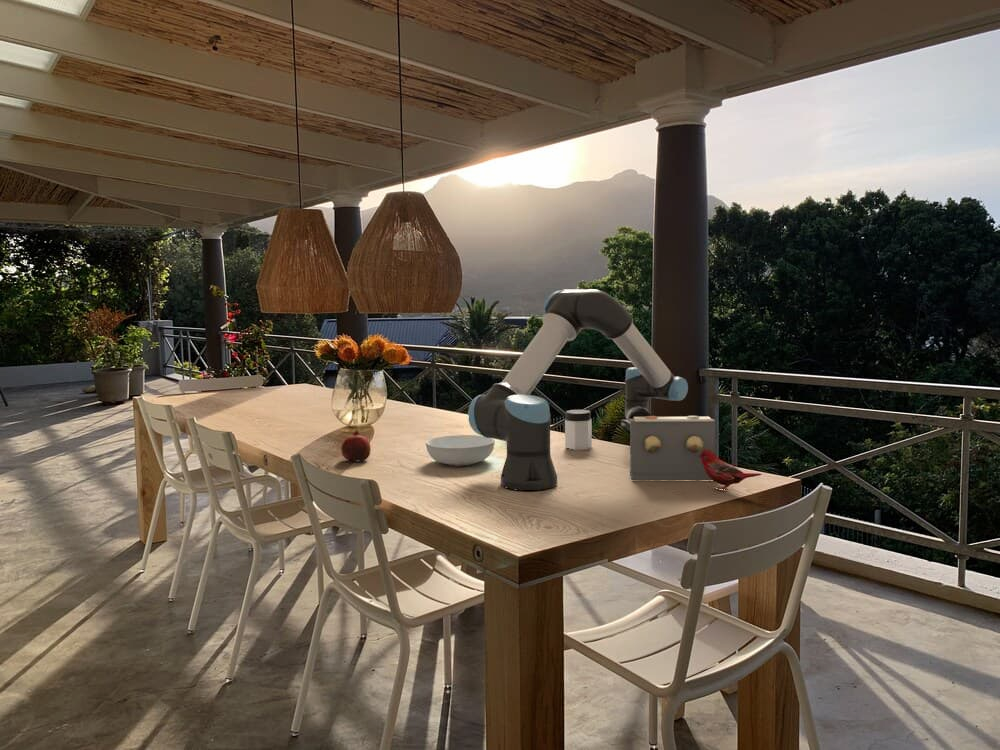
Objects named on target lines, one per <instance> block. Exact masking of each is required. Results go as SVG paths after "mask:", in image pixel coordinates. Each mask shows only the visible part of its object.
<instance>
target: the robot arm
mask: <svg viewBox="0 0 1000 750" xmlns="http://www.w3.org/2000/svg"><path fill="white" fill-rule="evenodd" d="M542 315H543V316H542V323H543V324H542V326H541V328H539V330H538V331H537V333H536V334H535V336H534V337H533V339H532V340H530V343H528V345H527V347H526V348H525V349H524V351H523V352H522V353H521V355H520V356H519V358H518V359H517V361H516V362H515V363H514V364H513V366H512V368H511V369H510V370H509V372H508V373H507V374H506V376H505V377H504V379H502V381H501V382H499V383H497V382H496V383H494V384H493V385H492V386H491V387H490V389H489V390H488V391H487V393H486V394H479V395H477V396H475V397H474V398H473V399H472V400H471V402H470V404H469V406H468V411H467V415H468V422H469V426H470V428H471V429H472V431H473V432H474V433H476V434H477V435H478V436H484V437H486V438H492V439H494V440H498V441H502V442H503V441H504V442H506V458H505V460H504V464H503V468H502V470H501V474H500V485H501V486H502V485H503V486H504V487H503V486H502V487H503V488H505V487H507V488H510V489H509V490H511V489H516V490H515V491H518V490H538V491H541V490H540V489H545V490H548V489H547V488H549V489H552V488H555V487H556V486H557V485H558V474H557V472H556V469H555V466H554V462H553V460H552V457H551V411H550V405H549V402H548V401H547V400H546V399H545V398H543V397H541V396H537V395H531V394H532V392H533V391H534V389H535V388H536V386H537V384H539V382H540V381H541V379H542V378H543V376H544V375H545V373H546V372H547V370H548V369H549V367H551V365H552V364H553V362H554V360H555V359H556V357H557V356H558V354H559V353H560V352H561V350H562V349H563V348H564V346H565V344H566V343H567V342H572V341H574V340H575V339H576V338H577V336H578V335H579V333H580V332H581V331H582V330H594V331H595V330H596V331H598V332H600V333H602V335H603V336H604V337H605V338H606V339H608V340H612V341H613V342H614V343H615V345H616V346H617V347H618V348H619V349H620V351H622V353H623V354H624V355H625V357H626V358H627V359H628V361H630V362H631V364H632V365H633V367H632V366H631V367H628V368H626V370H625V380H624V382H625V402H624V403H625V409H624V417H625V419H624V418H623V419H621V424H620V425H621V429H625V430H627V431H628V432H630V419H634V417H646V416H652V414H651V412H649V399H659V400H666V401H682V400H684V399H685V398H686V396H687V394H688V390H689V385H688V384H689V383H688V382H687V380H686V379H685V378H683V377H681V376H678V375H677V376H674V374H673V372H671V370H670V369H669V368H668V367H667V365H666V364H665V363H664V362H663V360H662V359H661V357H660V356H659V355H658V354H657V353H656V351H655V349H654V348H653V347H652V346H651V345H650V344H649V342H648V341H647V340H646V339H645V338H644V336H643V335H642V333H641V332H640V331H639V329H638V328H637V327H636V326H635V324H634V323H633V322H634V319H633V316H632V315H631V314H630V312H629V311H628V310H627V309H626V307H624V305H623V304H621V303H620V302H619V301H618V300H617V299H616V298H614V297H613V296H612V295H610V294H609V293H607V292H605V291H603V290H599V289H595V288H594V289H593V288H589V289H566V288H565V289H561V290H556V291H555V292H554V291H553V292H552V293H551V294H549V296H548V297H547V299H545V302H544V305H543V310H542ZM556 484H557V485H556ZM555 485H556V486H555ZM551 487H552V488H551ZM507 488H506V489H507Z"/></svg>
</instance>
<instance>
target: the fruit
mask: <svg viewBox="0 0 1000 750" xmlns="http://www.w3.org/2000/svg"><path fill="white" fill-rule="evenodd" d="M340 449H341V455H342V456H343V458H344V459H345V460H348V461H352V462H355V461H360V462H363V461H365V460H367V459H368V458H369V457H370V455H371V443H370V441H369V439H368V438H367V437H365V436H363V435H360V432H359V431H358V429H357V428H356V429H355V430H353V433H352V434H351V435H349V436H347V437H346V438H345V439H344V440H343V442H342V444H341V447H340Z"/></svg>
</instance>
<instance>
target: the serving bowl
mask: <svg viewBox="0 0 1000 750" xmlns="http://www.w3.org/2000/svg"><path fill="white" fill-rule="evenodd" d="M495 440H496V439H493V438H486V437H484V436H482V435H478V434H477V435H475V434H455V435H442V436H436V437H433V438H430V439H428V440H426V441H425V447H426V451H427V453H428V455H429V456H430V458H432V459H433V460H434V461H436V462H438V463H439V464H440V463H441V464H445V465H447V464H449V465H448V466H452V465H466V466H470V465H469V464H471V465H474V464H476V463H479V462H480V463H481V462H482V461H485V460H486V459H487V458H489V456H491V454H492V453H493V451H494V448H495ZM473 463H474V464H473Z"/></svg>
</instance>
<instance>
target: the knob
mask: <svg viewBox="0 0 1000 750" xmlns="http://www.w3.org/2000/svg"><path fill="white" fill-rule="evenodd" d="M685 445H686V447H687V449H688V450H689V451H690V452H693V453H696V452H699V451H700V450H701V449H702V448H703V441H702V439H701V438H700V437H698V436H696V435H691V436H689V437H687V439H686V442H685Z"/></svg>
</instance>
